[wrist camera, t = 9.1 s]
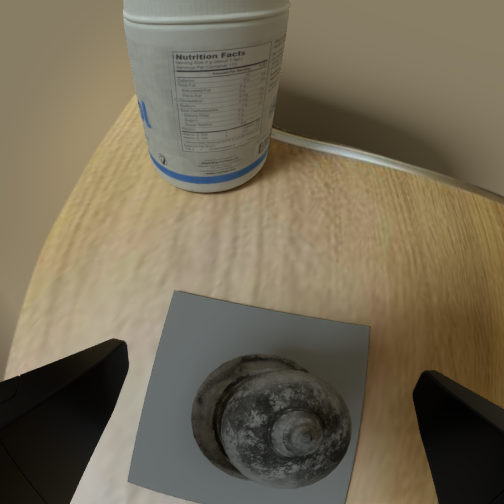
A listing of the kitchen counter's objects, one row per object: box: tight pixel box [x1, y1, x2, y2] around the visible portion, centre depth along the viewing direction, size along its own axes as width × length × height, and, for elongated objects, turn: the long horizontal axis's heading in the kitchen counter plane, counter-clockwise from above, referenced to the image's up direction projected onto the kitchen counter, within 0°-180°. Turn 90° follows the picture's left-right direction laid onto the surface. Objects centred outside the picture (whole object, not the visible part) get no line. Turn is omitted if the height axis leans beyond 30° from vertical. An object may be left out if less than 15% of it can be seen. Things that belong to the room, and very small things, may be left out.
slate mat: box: [128, 290, 370, 504], centre depth 15 cm, size 12×12×1 cm
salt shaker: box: [191, 353, 352, 489], centre depth 9 cm, size 6×6×12 cm
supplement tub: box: [123, 0, 290, 193], centre depth 18 cm, size 10×10×15 cm
